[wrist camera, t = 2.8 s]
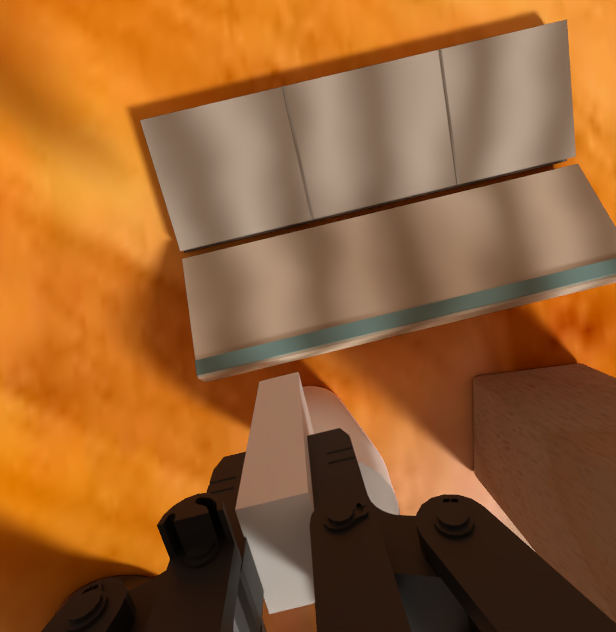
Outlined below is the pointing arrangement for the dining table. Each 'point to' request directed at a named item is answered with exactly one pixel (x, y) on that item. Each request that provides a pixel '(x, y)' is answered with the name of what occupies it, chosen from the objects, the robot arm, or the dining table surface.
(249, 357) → the plank
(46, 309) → the dining table surface
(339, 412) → the cup
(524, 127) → the laid row
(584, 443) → the wooden block
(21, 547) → the dining table surface
